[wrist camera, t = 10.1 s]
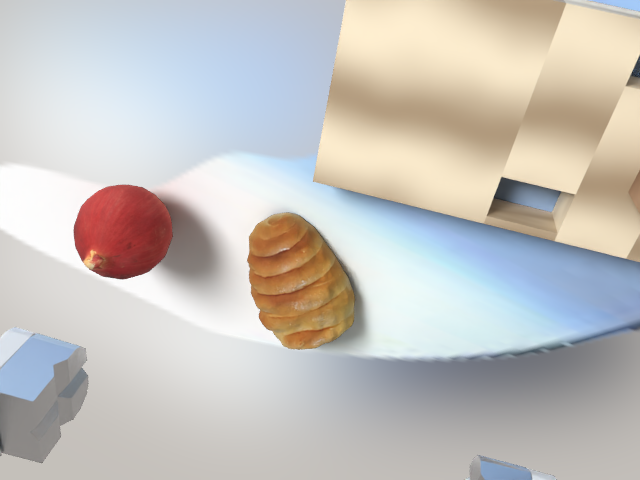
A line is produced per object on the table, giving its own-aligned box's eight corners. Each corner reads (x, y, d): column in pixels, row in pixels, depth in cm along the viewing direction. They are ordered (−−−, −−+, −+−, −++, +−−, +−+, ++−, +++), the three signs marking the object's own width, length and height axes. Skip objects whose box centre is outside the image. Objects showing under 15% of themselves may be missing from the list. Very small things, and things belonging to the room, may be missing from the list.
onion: (191, 247, 42) (140, 318, 35) (114, 232, 43) (49, 299, 36) (189, 172, 39) (133, 235, 32) (106, 158, 40) (34, 215, 33)
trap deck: (361, -49, 30) (343, -35, 26) (809, 48, 29) (876, 81, 24) (321, 163, 37) (301, 205, 32) (684, 252, 35) (718, 309, 31)
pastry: (231, 218, 41) (212, 248, 37) (324, 197, 38) (312, 226, 35) (280, 327, 45) (266, 362, 41) (367, 313, 42) (359, 349, 39)
